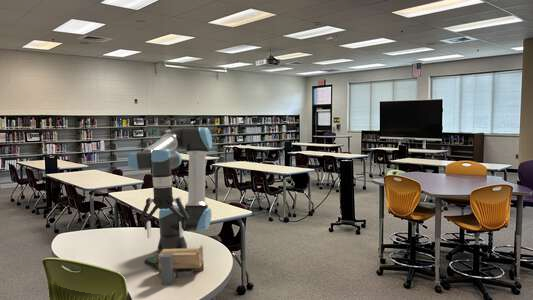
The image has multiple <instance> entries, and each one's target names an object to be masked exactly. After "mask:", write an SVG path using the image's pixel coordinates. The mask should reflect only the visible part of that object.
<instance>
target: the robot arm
mask: <svg viewBox="0 0 533 300" xmlns="http://www.w3.org/2000/svg"><path fill="white" fill-rule="evenodd" d="M212 148H213V139H212V134H211V132H210V129H209V128H207V127H202V126H201V127H200V126H199V127H197V126H195V127H178V128H175V129H171V130H170V131H168V132H166V133H164V134H163V135H162V136H160V138H159V140H157V141H155V142H154V143H153V144H151V145H149V146H148V147H146V148H144V149H143V150H142V151H140V152H138V151H136V152H131V153H130V154H129V155H128V156H127V157H128V158H127V163H128V167H129V168H130V169H131V170H138V171H140V170H142V171H144V170H152V186H153V188H152V190H153V198H151V197H148V198H146V200H145V205H144V207H143V210H142V213H141V215H140V217H139V220H138V221H140V222H143V225H144V230H145V231H146V236H147V237H146V238H147V239H150V238H151V237H152V224H151V223H152V222H151V220H150V219H151V217H152V216H154V214H155V213H156V211H157V210H158V209H159V211H158V221H159V222H158V224H159V225H158V226H159V241H158V244H157V254H158V255H159V254H160V252H161V251H162V250H163V249H187V248H188V244H187V242H186V239H185V237H184V232H205V231H207V230H208V229H209V226H210V225H211V220H212V209H211V208H210V207H209V204H208V203H207V202H206V198H205V197H206V156H207V155H208V154H209V150H211V149H212ZM179 150H183V151H184V150H185V153H186V154H187V155H188V188H187V190H188V193H187V195H188V197H187V200H188V201H187V202H186V203H185V205H183V202H182V199H181V197H180V196H178V197H174V195H173V186H172V185H173V181H172V179H173V178H172V170H173V169H176V168H178V167H179V166H180V165H181V164H182V160H183V159H182V158H183V157H182V155H181V153H179V152H178V151H179ZM152 203H153V204H154V206H153V207H152V209H151V211H150V212H149V213H148V211H149V209H150V206H151V204H152ZM173 203H175V204H173ZM147 213H148V214H147ZM146 215H147V216H146Z"/></svg>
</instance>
